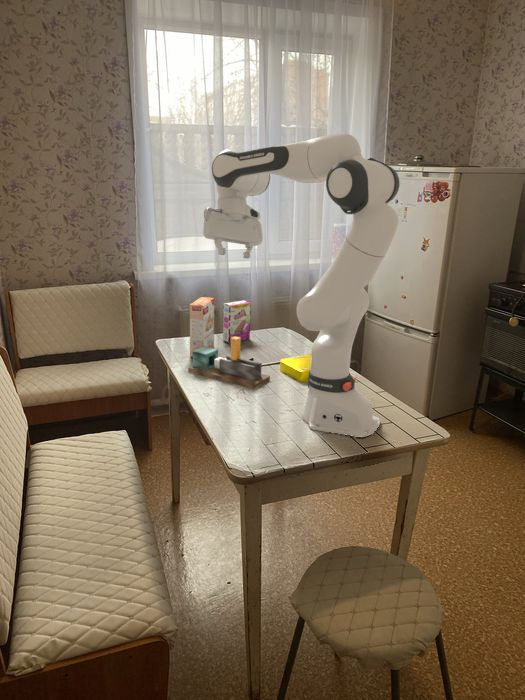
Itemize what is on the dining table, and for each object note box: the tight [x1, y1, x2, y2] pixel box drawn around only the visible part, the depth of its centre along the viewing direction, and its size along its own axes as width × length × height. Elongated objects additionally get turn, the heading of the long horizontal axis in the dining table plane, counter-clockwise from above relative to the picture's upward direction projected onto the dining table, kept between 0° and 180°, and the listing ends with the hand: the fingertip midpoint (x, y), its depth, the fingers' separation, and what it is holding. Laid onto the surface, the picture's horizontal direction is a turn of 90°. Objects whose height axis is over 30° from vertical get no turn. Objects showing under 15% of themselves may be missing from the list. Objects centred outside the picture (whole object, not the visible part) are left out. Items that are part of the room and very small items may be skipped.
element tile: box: [279, 353, 311, 383], centre depth 188 cm, size 15×15×5 cm
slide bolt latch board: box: [187, 346, 271, 390], centre depth 183 cm, size 28×10×8 cm, turn 58°
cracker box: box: [189, 296, 215, 358], centre depth 204 cm, size 14×6×21 cm, turn 168°
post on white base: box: [214, 337, 248, 369], centre depth 181 cm, size 12×3×12 cm, turn 58°
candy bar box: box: [222, 300, 252, 344], centre depth 221 cm, size 11×5×16 cm, turn 129°
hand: (234, 256), depth 159 cm, fingers open, 8 cm apart
